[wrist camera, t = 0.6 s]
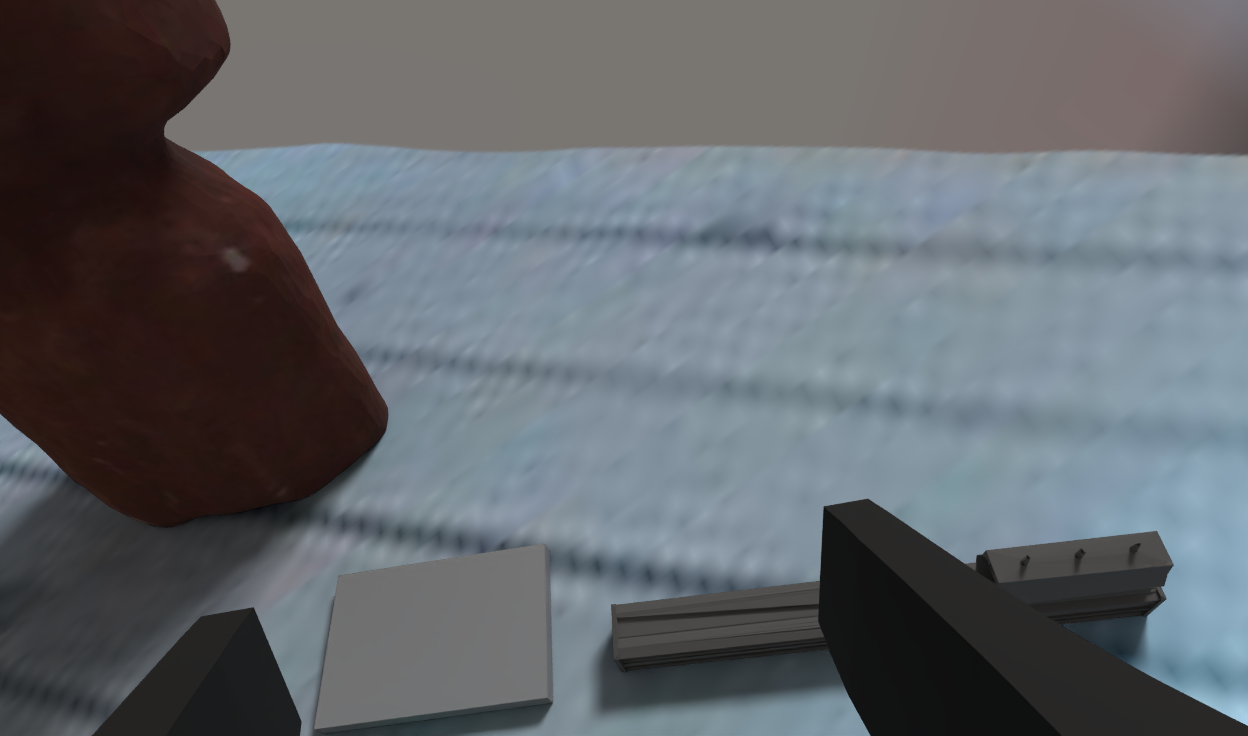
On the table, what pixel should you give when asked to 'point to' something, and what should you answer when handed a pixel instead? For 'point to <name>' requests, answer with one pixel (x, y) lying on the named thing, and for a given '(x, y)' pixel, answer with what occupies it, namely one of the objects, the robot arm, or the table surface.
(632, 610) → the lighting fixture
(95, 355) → the sculpture
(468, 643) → the lid
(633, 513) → the table surface
